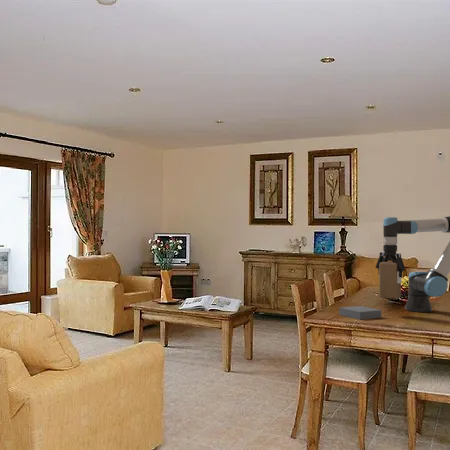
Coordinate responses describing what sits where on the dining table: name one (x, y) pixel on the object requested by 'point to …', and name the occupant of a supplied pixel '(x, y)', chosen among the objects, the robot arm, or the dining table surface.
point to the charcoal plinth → (360, 312)
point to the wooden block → (388, 280)
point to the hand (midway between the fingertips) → (390, 282)
